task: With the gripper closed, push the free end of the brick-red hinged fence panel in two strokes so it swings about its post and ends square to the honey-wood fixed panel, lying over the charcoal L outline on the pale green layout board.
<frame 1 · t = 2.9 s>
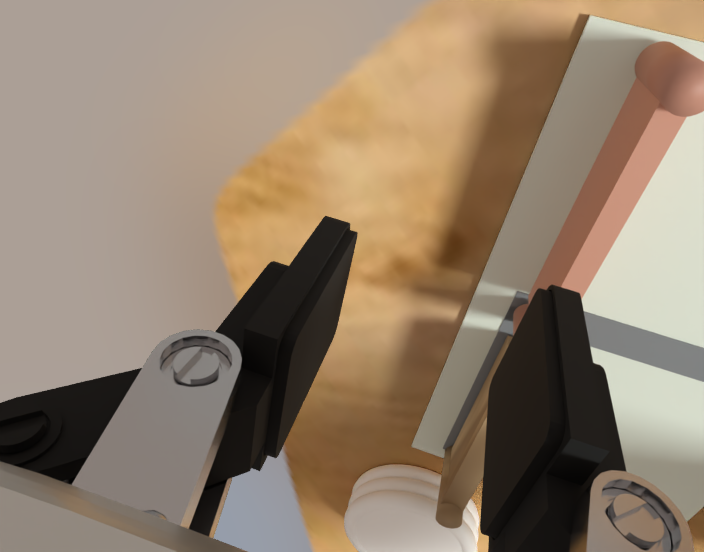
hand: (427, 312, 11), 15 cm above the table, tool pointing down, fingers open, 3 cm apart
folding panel: (588, 232, 21), point 3 cm above the table, hinge at 0.0°
layout board: (639, 341, 27), on the table
coaster: (415, 500, 40), on the table
fixed panel: (483, 396, 32), resting on layout board
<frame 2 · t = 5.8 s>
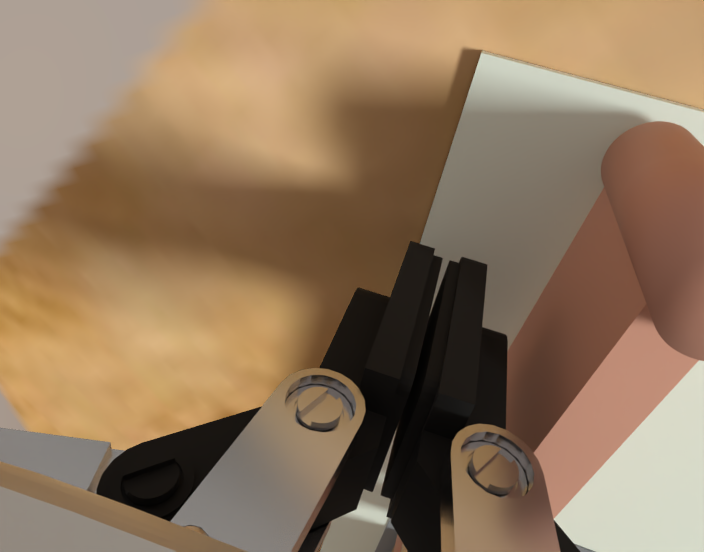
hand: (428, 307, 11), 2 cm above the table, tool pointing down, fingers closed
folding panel: (502, 468, 11), point 3 cm above the table, hinge at 2.5°, touching gripper
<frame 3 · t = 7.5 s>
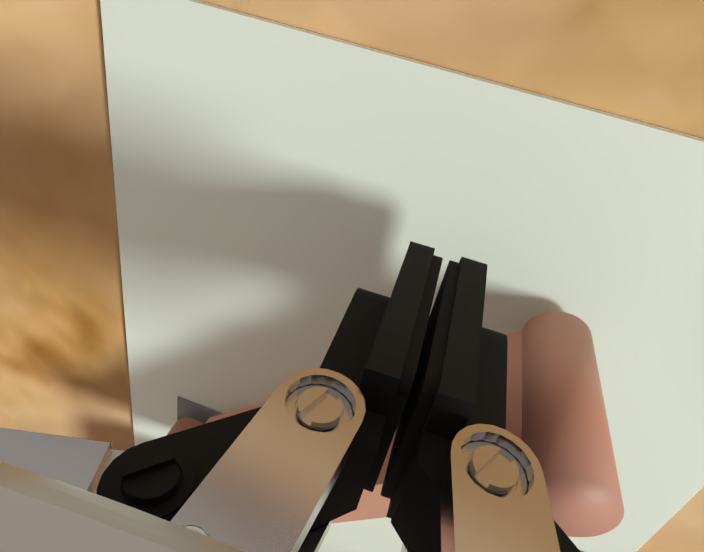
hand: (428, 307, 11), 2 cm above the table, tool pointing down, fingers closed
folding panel: (312, 456, 13), point 3 cm above the table, hinge at 46.5°, touching gripper
layout board: (356, 475, 18), on the table
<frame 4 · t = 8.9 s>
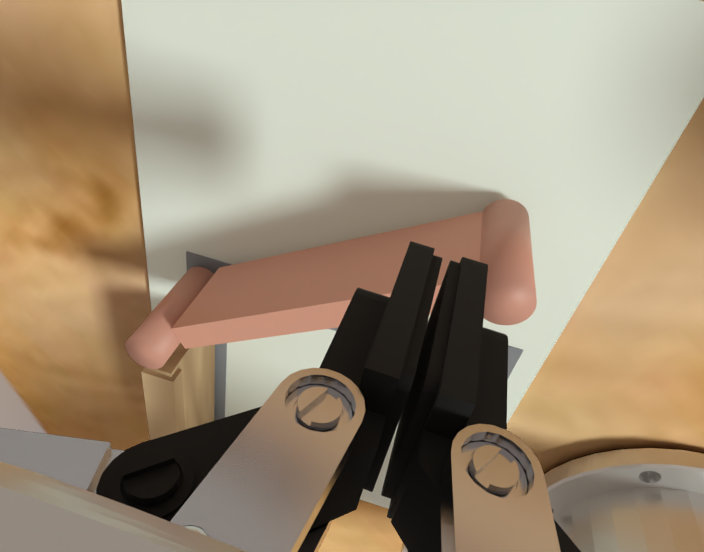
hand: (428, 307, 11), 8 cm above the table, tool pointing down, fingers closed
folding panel: (317, 289, 18), point 3 cm above the table, hinge at 58.7°
layout board: (337, 308, 22), on the table
fixed panel: (210, 377, 27), resting on layout board
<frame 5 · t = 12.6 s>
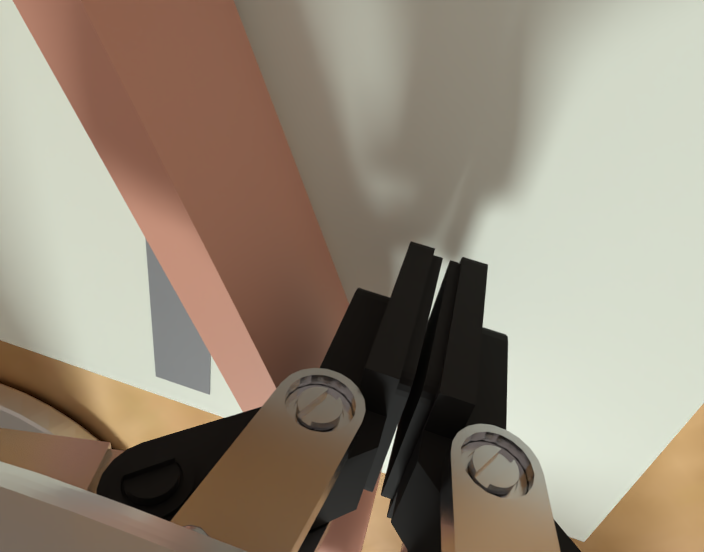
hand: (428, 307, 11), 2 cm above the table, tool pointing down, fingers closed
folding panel: (244, 243, 10), point 3 cm above the table, hinge at 61.3°, touching gripper
layout board: (183, 162, 13), on the table
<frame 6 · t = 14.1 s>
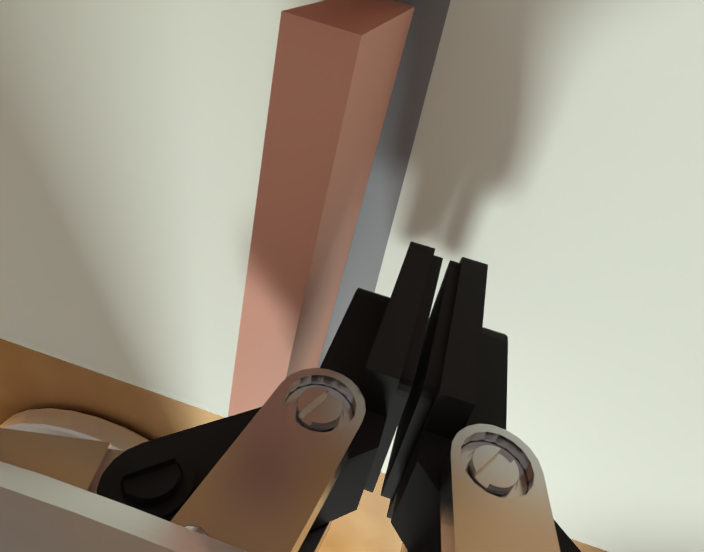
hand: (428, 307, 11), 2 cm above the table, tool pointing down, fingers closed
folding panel: (297, 293, 10), point 3 cm above the table, hinge at 92.7°, touching gripper
layout board: (354, 213, 13), on the table
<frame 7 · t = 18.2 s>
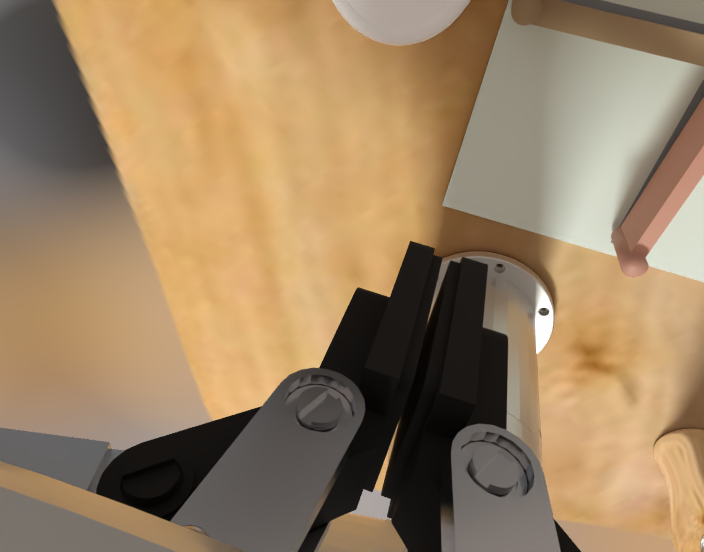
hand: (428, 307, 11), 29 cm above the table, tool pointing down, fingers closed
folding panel: (684, 166, 32), point 3 cm above the table, hinge at 92.8°
layout board: (681, 145, 34), on the table
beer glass: (689, 448, 47), on the table
fixed panel: (613, 22, 31), resting on layout board
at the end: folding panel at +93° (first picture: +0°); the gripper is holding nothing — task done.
